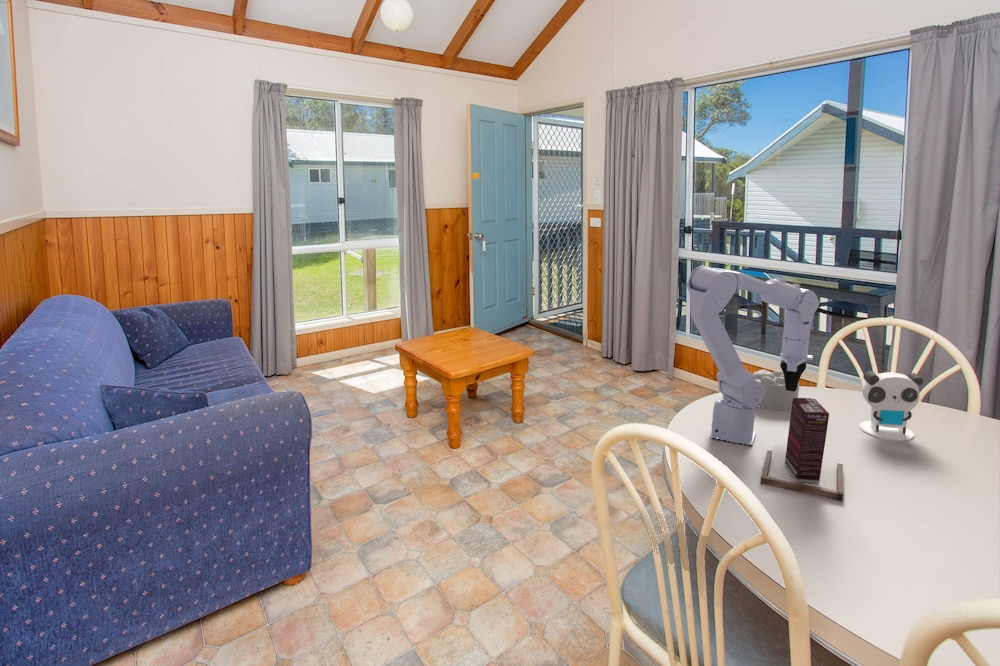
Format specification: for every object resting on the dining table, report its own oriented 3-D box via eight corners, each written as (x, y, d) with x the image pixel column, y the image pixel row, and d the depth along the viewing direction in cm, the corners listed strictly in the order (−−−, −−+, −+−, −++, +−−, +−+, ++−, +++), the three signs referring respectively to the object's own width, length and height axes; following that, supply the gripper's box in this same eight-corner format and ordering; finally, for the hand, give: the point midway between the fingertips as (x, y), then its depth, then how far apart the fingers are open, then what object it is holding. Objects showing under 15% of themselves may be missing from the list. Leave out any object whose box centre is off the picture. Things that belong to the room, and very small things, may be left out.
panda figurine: (865, 438, 144) (874, 379, 140) (850, 419, 155) (858, 365, 151) (921, 443, 141) (932, 383, 137) (902, 423, 152) (912, 367, 148)
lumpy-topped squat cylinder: (756, 392, 175) (759, 364, 172) (803, 404, 165) (806, 374, 163) (740, 402, 168) (743, 372, 165) (787, 414, 159) (791, 384, 156)
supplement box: (820, 484, 124) (830, 413, 119) (796, 483, 124) (805, 412, 120) (806, 464, 132) (815, 397, 128) (783, 463, 133) (791, 396, 128)
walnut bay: (760, 483, 124) (760, 477, 124) (766, 456, 136) (767, 450, 136) (842, 501, 117) (843, 494, 117) (841, 470, 129) (842, 464, 129)
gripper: (813, 347, 135) (807, 403, 139) (815, 331, 148) (810, 382, 151) (779, 344, 139) (774, 398, 142) (784, 328, 151) (779, 379, 155)
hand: (790, 390), depth 147 cm, fingers closed
